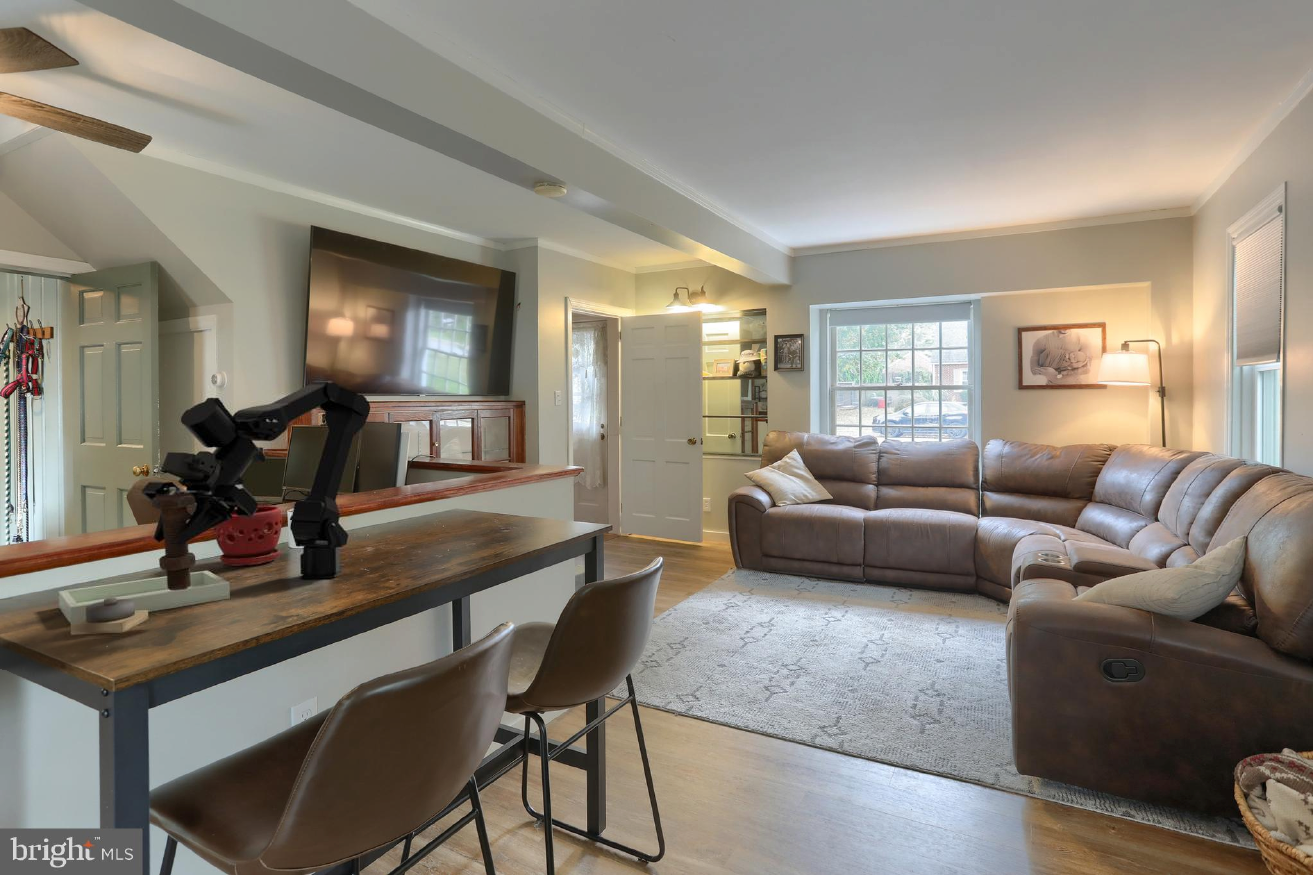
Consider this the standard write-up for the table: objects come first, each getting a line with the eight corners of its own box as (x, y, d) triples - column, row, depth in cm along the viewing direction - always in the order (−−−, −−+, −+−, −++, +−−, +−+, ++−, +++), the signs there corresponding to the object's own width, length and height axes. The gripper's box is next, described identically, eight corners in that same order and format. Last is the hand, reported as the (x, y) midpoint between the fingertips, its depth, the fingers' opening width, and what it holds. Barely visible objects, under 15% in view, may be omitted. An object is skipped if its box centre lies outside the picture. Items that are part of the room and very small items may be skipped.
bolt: (176, 594, 107) (169, 499, 106) (149, 593, 109) (143, 498, 107) (207, 584, 113) (202, 493, 112) (182, 582, 114) (176, 493, 113)
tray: (207, 584, 134) (207, 570, 134) (229, 598, 125) (229, 582, 125) (59, 607, 118) (58, 591, 118) (71, 625, 109) (70, 607, 109)
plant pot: (238, 555, 162) (237, 504, 161) (293, 556, 161) (293, 505, 161) (199, 568, 149) (198, 513, 148) (259, 569, 148) (258, 513, 148)
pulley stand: (148, 618, 112) (147, 592, 112) (122, 632, 105) (122, 604, 105) (99, 620, 111) (99, 594, 111) (70, 634, 104) (70, 606, 104)
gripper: (150, 433, 116) (83, 508, 106) (241, 434, 111) (180, 513, 101) (194, 475, 124) (135, 549, 114) (280, 478, 119) (228, 555, 109)
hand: (167, 541), depth 109 cm, fingers closed on bolt, 4 cm apart
